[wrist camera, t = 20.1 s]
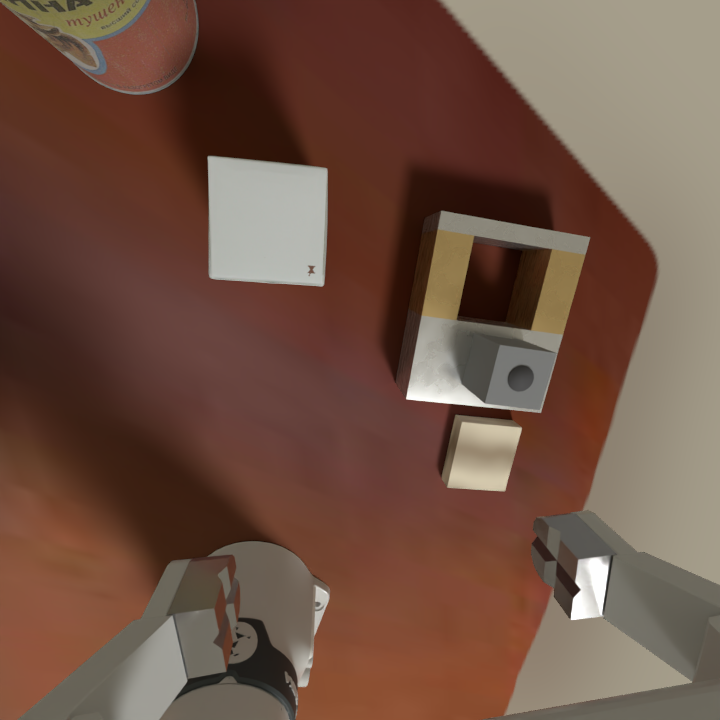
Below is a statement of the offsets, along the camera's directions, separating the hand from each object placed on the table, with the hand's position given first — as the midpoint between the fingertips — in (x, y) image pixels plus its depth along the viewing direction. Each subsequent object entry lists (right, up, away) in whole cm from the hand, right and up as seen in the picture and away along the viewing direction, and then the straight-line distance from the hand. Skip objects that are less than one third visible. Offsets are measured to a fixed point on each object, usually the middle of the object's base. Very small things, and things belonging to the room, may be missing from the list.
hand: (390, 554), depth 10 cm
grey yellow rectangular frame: (+11, +10, +29) cm, 32 cm away
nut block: (+12, +5, +25) cm, 28 cm away
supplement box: (-8, +17, +25) cm, 31 cm away
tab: (+13, -5, +33) cm, 36 cm away
